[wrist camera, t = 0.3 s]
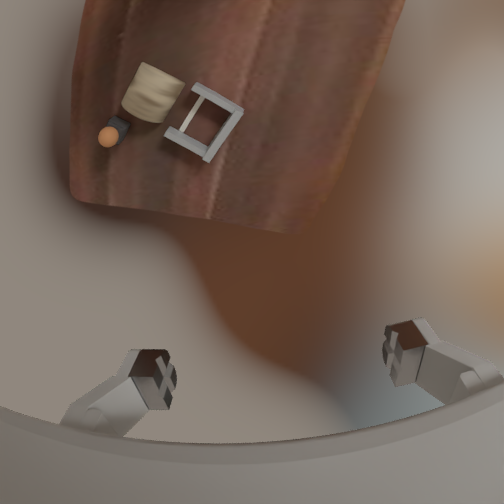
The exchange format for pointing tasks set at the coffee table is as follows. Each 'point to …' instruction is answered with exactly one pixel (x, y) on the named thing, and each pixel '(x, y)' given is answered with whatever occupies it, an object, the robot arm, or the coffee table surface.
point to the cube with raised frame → (119, 127)
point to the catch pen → (222, 133)
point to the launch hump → (151, 94)
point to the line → (192, 113)
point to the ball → (108, 136)
